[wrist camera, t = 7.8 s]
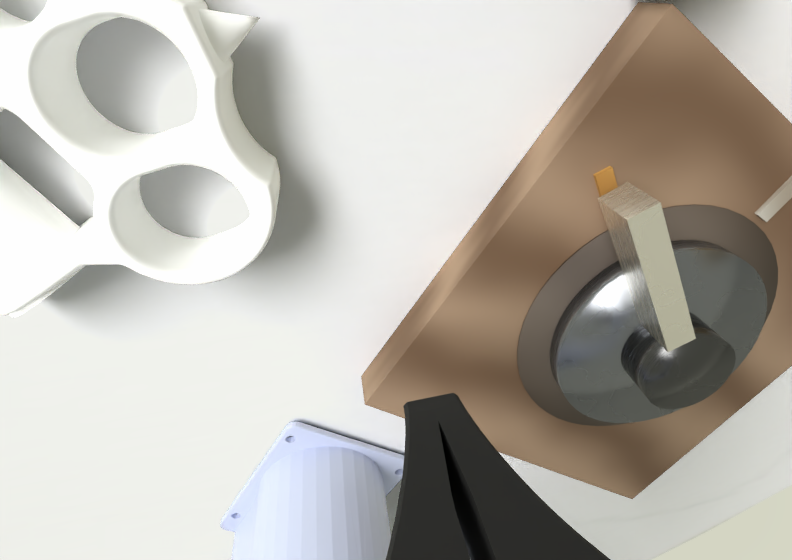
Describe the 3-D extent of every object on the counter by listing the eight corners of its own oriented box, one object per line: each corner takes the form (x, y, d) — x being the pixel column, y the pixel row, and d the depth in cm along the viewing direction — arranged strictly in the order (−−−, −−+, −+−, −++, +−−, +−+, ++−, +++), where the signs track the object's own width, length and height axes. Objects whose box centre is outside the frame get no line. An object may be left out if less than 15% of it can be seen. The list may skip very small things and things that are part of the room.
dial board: (615, 472, 33) (633, 501, 31) (361, 376, 25) (365, 407, 23) (882, 238, 26) (927, 257, 24) (638, 2, 18) (676, 4, 16)
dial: (760, 351, 25) (810, 392, 23) (583, 435, 27) (612, 482, 24) (722, 112, 18) (789, 132, 16) (484, 244, 20) (509, 283, 17)
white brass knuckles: (-451, -75, 13) (-97, -504, 11) (100, 336, 22) (363, 156, 20) (-660, -91, 10) (-243, -679, 8) (69, 388, 20) (371, 185, 17)
